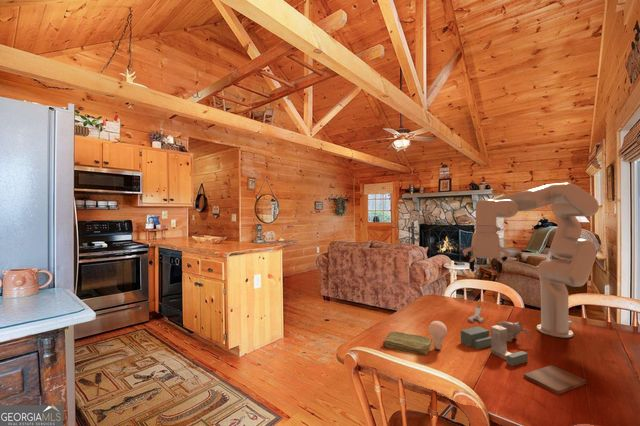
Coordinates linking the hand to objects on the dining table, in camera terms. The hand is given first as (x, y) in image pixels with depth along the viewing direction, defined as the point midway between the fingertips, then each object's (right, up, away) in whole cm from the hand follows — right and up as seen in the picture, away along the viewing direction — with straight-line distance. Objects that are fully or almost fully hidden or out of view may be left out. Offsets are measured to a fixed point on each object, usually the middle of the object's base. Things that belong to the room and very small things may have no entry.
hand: (485, 271), depth 123 cm
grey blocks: (-2, -29, -8) cm, 30 cm away
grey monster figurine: (+12, -29, +1) cm, 31 cm away
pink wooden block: (0, -29, -11) cm, 31 cm away
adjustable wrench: (+13, -29, +30) cm, 44 cm away
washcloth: (-32, -30, -2) cm, 44 cm away
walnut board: (+7, -29, -28) cm, 41 cm away
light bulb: (-22, -29, -6) cm, 37 cm away
